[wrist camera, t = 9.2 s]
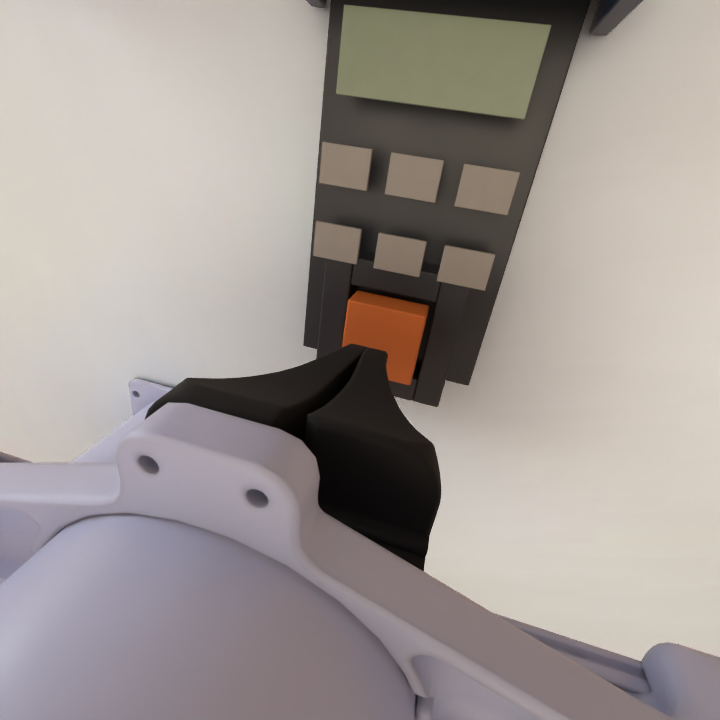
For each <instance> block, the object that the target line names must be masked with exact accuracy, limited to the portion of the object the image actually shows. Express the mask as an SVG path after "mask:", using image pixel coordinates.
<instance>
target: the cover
mask: <svg viewBox="0 0 720 720" xmlns="http://www.w3.org/2000/svg"><path fill="white" fill-rule="evenodd" d="M306 1H307V2H308V3H309V4H310V5H311V6H315V7H325V6H326V0H306ZM642 1H643V0H600V1H599V4H598V7H597V10H596V13H595V16H594V19H593V22H592V25H591V29H590V34H594V35H604V36H606V35H608V34H609V33H610V32H611V31H612V30H613V29H614V28H615V27H616V26H617V25H618V24H619V23H620V22H621V21H622V20H623V19H624V18H625V17H626V16H627V15H628V14H629V13H631V12H632V11H633V10H634V9H635V8H636V7H637V6H638V5H639V4H640V3H641V2H642Z"/></svg>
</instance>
